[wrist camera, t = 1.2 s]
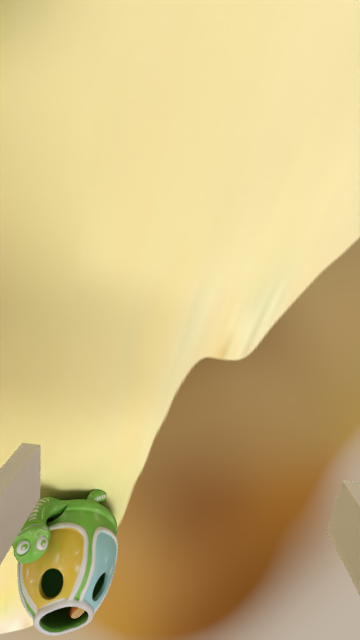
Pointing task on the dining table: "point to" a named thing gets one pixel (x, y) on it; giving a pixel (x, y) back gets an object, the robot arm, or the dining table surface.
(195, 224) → the dining table surface
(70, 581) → the turtle holder
